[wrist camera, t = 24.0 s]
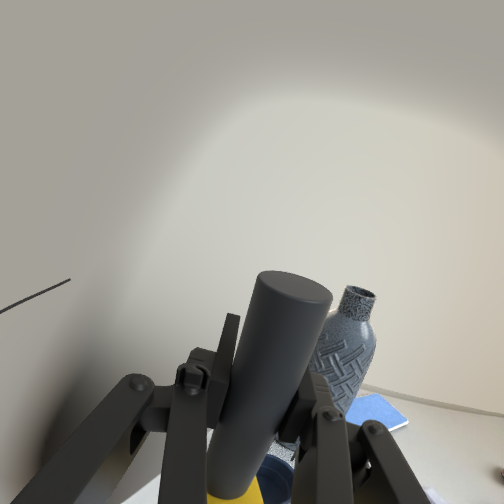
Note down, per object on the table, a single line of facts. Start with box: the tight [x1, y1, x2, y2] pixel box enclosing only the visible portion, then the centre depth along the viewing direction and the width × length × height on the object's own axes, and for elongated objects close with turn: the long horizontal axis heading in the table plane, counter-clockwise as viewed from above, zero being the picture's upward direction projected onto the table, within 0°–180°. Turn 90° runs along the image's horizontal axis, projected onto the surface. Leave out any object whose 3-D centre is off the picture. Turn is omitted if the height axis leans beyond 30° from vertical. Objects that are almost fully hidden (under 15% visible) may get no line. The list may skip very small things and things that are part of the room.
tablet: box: [345, 393, 408, 432], centre depth 54 cm, size 19×13×1 cm, turn 113°
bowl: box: [256, 454, 294, 504], centre depth 31 cm, size 10×10×6 cm
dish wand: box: [207, 271, 333, 504], centre depth 12 cm, size 4×4×16 cm
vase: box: [275, 285, 377, 451], centre depth 45 cm, size 12×12×28 cm
